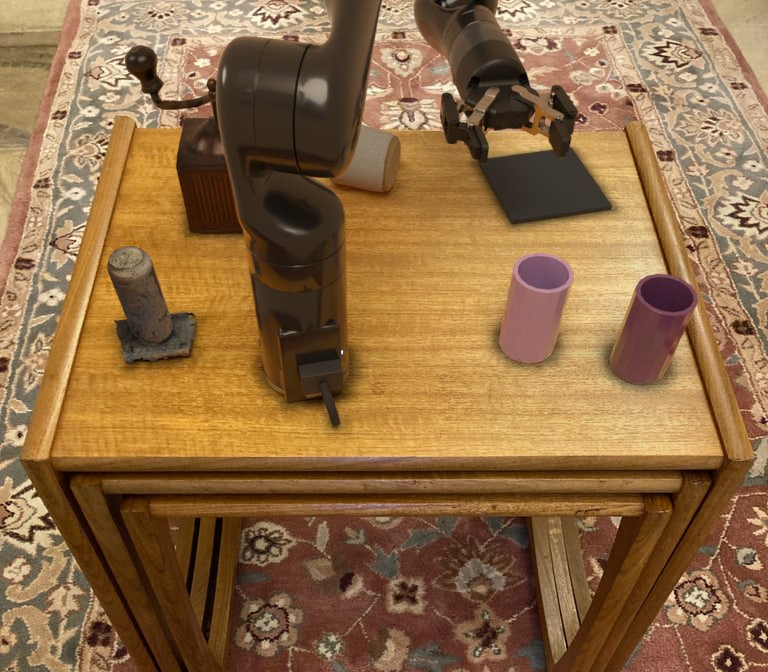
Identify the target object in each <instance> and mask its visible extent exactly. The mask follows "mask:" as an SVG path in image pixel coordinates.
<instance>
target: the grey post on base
mask: <svg viewBox="0 0 768 672" xmlns="http://www.w3.org/2000/svg"><path fill="white" fill-rule="evenodd" d="M106 270H107V273H108V276H109V279H110V280H111V284H112V286H113V289H114V290H115V291H114V292H115V293H116V296H117V299H118V301H119V304H120V306H121V308H122V311H123V314H124V316H125V317H126V319H118V320H117V319H113V322H114V323H115V324H116V327H115V331H116V332H115V333H116V335H117V338H118V340H119V341H120V344H121V345H120V346H121V347H120V348H121V349H122V348H123V349H122V351H121V352H122V355H123V359H124V360H125V363H129V364H130V365H131V364H132V363H133V362H134V361H136V360H141V359H142V361H146V360H147V361H149V362H157V361H158V360H159V359H164V360H165V361H166V360H167V359H169V358H175V357H177V356H178V357H189V356H191V354H190V353H191V351H192V348H191V347H192V346H191V345H192V344H193V343H192V342H193V341H195V340H196V339H195V329H196V326H195V324H196V318H195V317H197V315H196V314H195V312H189V311H188V312H187V311H182V312H175V313H173V312H171V313H170V311H169V308H168V305H167V302H166V300H165V296H164V294H163V290H162V287H161V285H160V281H159V277H158V275H157V271H156V269H155V266H154V263H153V259H152V258H151V256H150V255H149V254H148V253H147V251H145V250H144V249H143V248H142V247H137V246H134V245H129V246H126V245H124V246H120V247H119V248H116V249H114V250H113V252H112V253H111V254H110V255H109V257H108V260H107V265H106ZM192 317H194V318H192Z"/></svg>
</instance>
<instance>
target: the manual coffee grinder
mask: <svg viewBox="0 0 768 672" xmlns="http://www.w3.org/2000/svg"><path fill="white" fill-rule="evenodd" d="M158 62H159V59H158V55H157V53H156V52H155V51H154V49H152V48H151V47H150V46H147V45H144V44H138V45H135V46H133V47H131V48H130V49H129V50H128V52H127V53H125V55H124V64H125V69H126V70H127V73H129V74H130V75H132V77H134V78H136V79H137V80H138V81H139V82H140V89H141V92H142V94H144V95H145V94H146V95H149V96H150V98H151V101H152V103H153V105H154V106H155V107H157V108H158V109H160V110H163V111H177V110H186V109H187V110H188V109H195V108H199V107H202V106H205V105H207V104H209V103H210V104H211V109H212V115H211V116H207V117H185V118H184V121H183V124H182V128H181V133H180V137H179V143H178V147H177V153H176V163H175V168H176V169H175V170H176V174H177V178H178V182H179V186H180V190H181V196H182V200H183V203H184V208H185V213H186V219H187V223H188V230H189V232H190V233H194V234H201V235H238V234H239V235H241V234H243V235H244V233H243V228H242V227H241V225H240V222H239V220H238V217H237V213H236V208H235V202H234V197H233V192H232V187H231V182H230V177H229V173H228V168H227V164H226V159H225V155H224V151H223V146H222V141H221V136H220V131H219V125H218V116H217V107H216V79H215V78H213V77H211V78H208V79H207V82H206V83H205V84H206V85H205V86H206V88H207V90H208V91H207V94H205V95H202V96H200V97H196V98H192V99H185V100H177V101H165V100H162V99H161V96H160V92H161V89H162V88H163V87H164V85H165V83H164V81H163V80H162V78H160V77H159V75H158V69H157V68H158Z"/></svg>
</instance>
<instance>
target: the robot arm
mask: <svg viewBox="0 0 768 672" xmlns="http://www.w3.org/2000/svg"><path fill="white" fill-rule="evenodd" d="M322 2H323V5H324V7H325V12H326V14H327V18H328V20H329V25H330V28H331V29H330V33H329V36H328V38H327V39H326V41H325V42H323V43H310V42H302V41H296V40H287V39H281V38H280V39H279V38H269V37H262V36H254V35H253V36H252V35H241V36H237V37H235V38H233V39H232V40H230V41H229V42H228V43H227V45H226V46H225V48H224V49H223V51H222V53H221V55H220V59H219V62H218V66H217V71H216V77H215V78H216V79H215V80H216V107H217V116H218V125H219V131H220V136H221V141H222V146H223V151H224V155H225V159H226V164H227V168H228V173H229V177H230V182H231V187H232V192H233V197H234V202H235V208H236V213H237V217H238V220H239V222H240V225H241V227H242V228H243V239H244V245H245V246H244V247H245V252H246V260H247V267H248V272H249V281H250V286H251V294H252V299H253V306H254V312H255V320H256V327H257V333H258V346H259V348H260V351H261V357H262V371H263V376H264V378H265V381H266V382H267V384H268V385H269V386H270V387H271V388H272V389H273V390H274V391H275V392H277V393H279V394H281V395H282V396H283V397H284V399H285V402H286V403H294V402H300V401H306V400H312V399H318V398H322V399H323V402H324V406H325V408H326V412H327V415H328V418H329V422H330V424H331V426H332V427H338V426H340V425H341V424H342V423H341V418H340V416H339V413H338V408H337V406H336V403H335V400H334V395H339V394H340V395H341V394H343V392H344V389H345V388H344V383H345V382H346V380H347V378H348V376H349V372H350V357H349V336H348V335H349V334H348V329H349V328H348V291H347V290H348V288H347V233H346V212H345V207H344V204H343V202H342V200H341V198H340V197H339V196H338V194H337V193H336V192H335V191H334V190H333V189H332V188H330V187H329V186H328V185H327V184H325V183H324V182H322V181H320V180H318V179H330V178H335V177H339V176H340V175H342V174H343V173H344V172H345V171H346V170H347V168H348V167H349V165H350V163H351V161H352V159H353V156H354V154H355V150H356V147H357V144H358V139H359V135H360V130H361V125H363V124H362V123H363V119H364V113H365V108H366V101H367V100H366V99H367V94H368V87H369V80H370V75H371V73H370V72H371V68H372V61H373V55H374V49H375V42H376V36H377V31H378V30H377V29H378V23H379V18H380V13H381V8H382V3H383V0H322ZM498 6H499V0H414V2H413V17H414V22H415V25H416V27H417V29H418V32H419V34H420V35H421V37H422V38H423V39H424V41H425V42H426V43H427V45H428V46H430V48H432V49H433V50H434V51H435V52H437V53H439V55H442V56H443V57H444V58H446V61H447V64H448V65H449V67H450V73H451V78H452V81H453V85H454V86H455V88H456V90H457V93H458V95H459V97H460V99H457V98H455V97H454V95H453V94H452V93H451V92H443V93H441V97H440V109H439V120H440V124H441V127H442V131H443V134H444V138H445V142H446V144H448V145H451V146H453V145H456V144H457V143H458V142H463V145H464V146H465V147H467V149H468V152H469V154H470V157H471V158H472V159H473V160H475V161H477V163H478V162H479V164H486V163H487V158H489V150H490V146H489V142H488V140H487V137H486V135H487V134H488V132H489V131H490V130H493V131H494V132H495V131H497V132H498V131H504V130H522V131H523V132H525V133H527V134H529V135H531V136H534V137H535V136H538V135H541V136H543V137H545V138H547V140H548V143H549V144H550V147H551V148H552V150H554V152H555V154H556V156H557V158H564V157H565V156H566V153H568V151H569V147H571V142H572V138H573V137H572V135H573V134H574V131H575V125H576V122H577V121H576V120H577V118H578V114H579V110H578V107H576V105H575V104H574V102H573V101H572V99H571V98H570V97H569V94H567V92H566V90H565V89H564V88H563V86H562V85H560V84H554V85H552V86H551V89H550V92H546V93H545V92H544V93H539V91H537V90H536V89H534V88H533V87H532V86H531V83H530V79H529V76H528V72H527V69H526V68H525V66H524V64H523V63H522V61H521V58H520V57H519V55H518V53H517V51H516V50H515V48H514V45H513V44H512V42H511V40H510V38H509V37H508V35H507V34H506V33H504V31H503V29H502V27H501V26H500V24H499V22H498V20H497V18H496V14H497V11H498ZM461 114H464V115H465V117H467V119H466V120H465V121H460V120H461V119H460V116H461ZM533 116H534V118H533V121H530V120H531V119H532V117H533ZM546 119H548V120H550V124H549V125H547V124H546Z"/></svg>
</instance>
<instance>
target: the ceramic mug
mask: <svg viewBox="0 0 768 672" xmlns="http://www.w3.org/2000/svg"><path fill="white" fill-rule="evenodd" d="M401 154H402V143H401V140H400V139H399V137H398V136H397V135H395V134H393V133H391V132H388V131H386V130H383V129H378V128H374V127H371V126H367V125H364V124H362V125H361V130H360V135H359V139H358V144H357V147H356V150H355V154H354V156H353V159H352V161H351V163H350V165H349V167H348V168H347V170H346V171H345V172H344V173H343V174H342V175H340V176H339V177H335V178H329V179H330V182H332V183H333V184H338V185H341V186H347V187H351V188H357V189H363V190H367V191H372V192H377V193H386V192H388V191H390V190H391V189H392V188H393V185H394V184H395V181H396V179H397V177H398V176H397V175H398V171H399V168H400V162H401Z"/></svg>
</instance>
